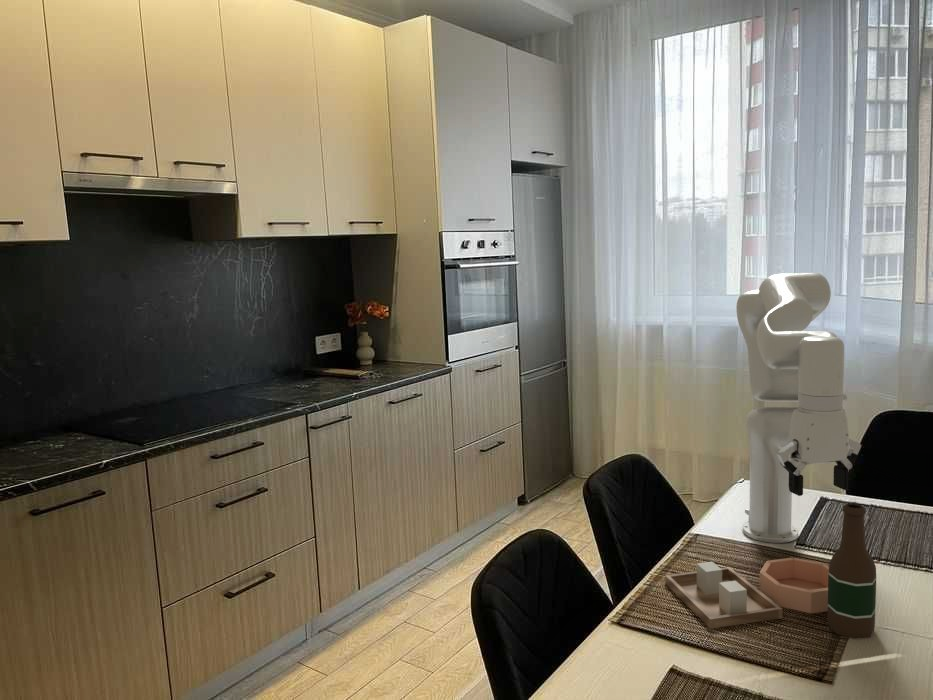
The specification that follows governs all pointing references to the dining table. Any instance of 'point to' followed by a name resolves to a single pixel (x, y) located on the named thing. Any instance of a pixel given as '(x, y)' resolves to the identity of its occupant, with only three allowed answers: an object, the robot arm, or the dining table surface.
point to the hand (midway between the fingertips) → (818, 490)
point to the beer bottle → (852, 580)
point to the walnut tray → (709, 604)
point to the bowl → (796, 584)
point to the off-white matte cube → (708, 577)
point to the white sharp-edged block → (732, 597)
